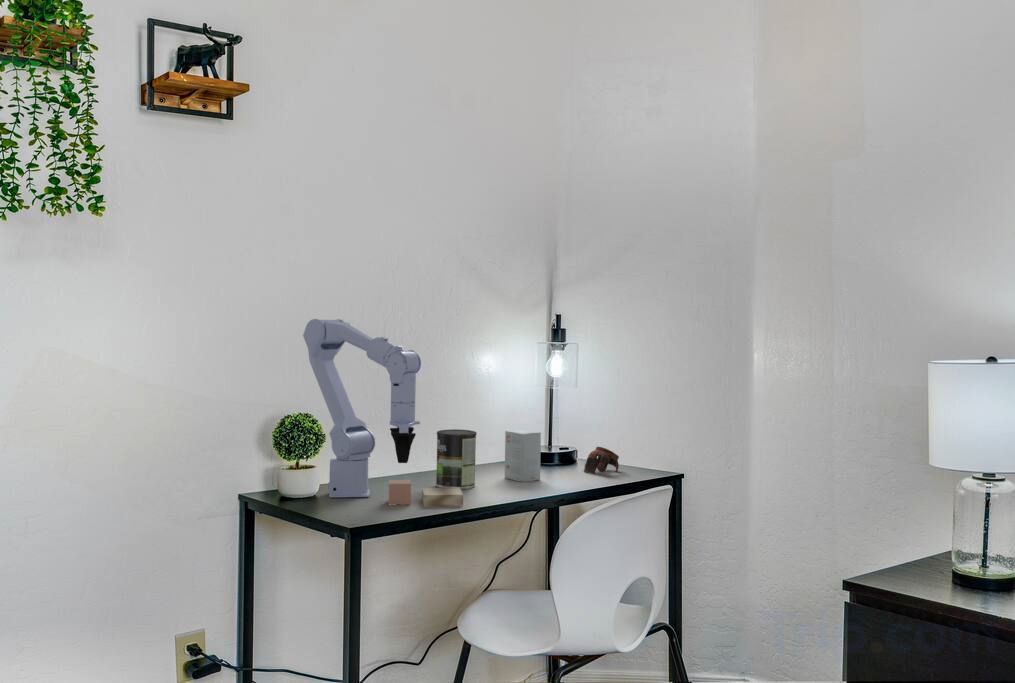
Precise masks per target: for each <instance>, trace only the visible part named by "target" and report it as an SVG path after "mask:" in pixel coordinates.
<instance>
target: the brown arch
mask: <svg viewBox="0 0 1015 683" xmlns="http://www.w3.org/2000/svg"><path fill="white" fill-rule="evenodd" d="M619 458H620V457H619V454H618V455H617V454H616V453H615V452H614V451H612V450H610V449H608V448H605V447H602V446H596V448H595V449H593V450H592V451H591V452H590V453H589V454H588V456H587V457H586V462H585V464H584V470H583V472H588V473H591V474H593V473H594V474H593V475H595V474H596V471H598V472H600V473H603V472H604V473H605V472H606V470H607V468H608V465H611V466H613V467H614V468H615V472H616V471H617V472H618V470H619V467H620V466H619Z"/></svg>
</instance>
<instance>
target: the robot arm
mask: <svg viewBox="0 0 1015 683" xmlns="http://www.w3.org/2000/svg"><path fill="white" fill-rule="evenodd" d="M302 336H303V339H304V340H303V341H304V342H305V344H306V346H307V349H308V350H307V351H308V358H309V364H310V366H311V369H312V371H313V374H314V376H315V379H316V381H317V384H318V387H319V389H320V391H321V394H322V396H323V400H324V402H325V404H326V407H327V409H328V411H329V414H330V417H331V419H332V422H333V423H334V424H333V426H332V428H331V429H330V431H329V433H328V434H329V437H330V440H331V450H332V453H333V454H334V456H336V458H330V460H329V481H328V491H329V493H328V495H329V496H328V497H329V498H369V497H370V496H371V495H370V494H371V493H370V492H371V490H370V489H369V458H371V453H372V452H374V450H375V447H376V438H375V436H374V434H373V432H372V431H371V430H370V429H369V428H368V426H367V423H366V422H365V421H364V420H362V419H361V418H358V417H357V416H356V414H355V410H354V409H353V406H352V404H351V401H350V398H349V397H348V393H347V391H346V388H345V387H344V383H343V380H342V379H341V375H340V373H339V371H338V368H337V366H336V364H335V361H334V359H335V357H336V356H337V355H338V354H339V352H340V350H342V347H343V346H344V345H345V343H348V344H350V345H352V346H354V347H357V349H358V348H359V349H361V351H362V350H363V351H365V352H366V356H367V358H368V359H369V360H371V361H373V362H375V363H377V364H378V365H380V366H382V367H384V368H385V369H386V371H387V373H388V374H389V381H390V420H389V425H390V426H394V427H390V428H389V430H390V435H391V437H392V439H393V443H394V448H395V454H396V459H397V463H398V464H408V462H409V458H410V453H411V449H412V448H411V447H412V444H413V442H414V439H415V438H416V435H417V433H415V432H413V431H414V430H415V429H414V426H416V425H420V424H421V421H420V420H416V391H417V390H416V382H417V378H416V377H417V373H418V372H419V371H420V369H421V367H422V360H421V357H420V356H419V354H418V353H417V352H415V351H414V350H413V349H410V350H408V349H407V350H405V349H403V346H402V345H396V344H394V343H392V342H390V341H389V338H388V337H386V336H380V337H377V336H376V337H374V338H372V337H371V336H369V335H367V334H366V333H364V332H363V331H361V330H359V329H357V328H356V327H354V326H353V325H351V323H349V322H346V321H344V319H343V320H342V319H317V318H313V319H310V320H309V321H308V322H307V324H306V326H305V329H304V332H303V335H302Z"/></svg>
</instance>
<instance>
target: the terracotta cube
mask: <svg viewBox="0 0 1015 683" xmlns="http://www.w3.org/2000/svg"><path fill="white" fill-rule="evenodd" d="M411 492H412V482H411V479H389V480H388V505H389V504H391V505H390V506H393V505H392V504H411V503H412V493H411Z"/></svg>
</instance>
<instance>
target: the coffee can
mask: <svg viewBox="0 0 1015 683" xmlns="http://www.w3.org/2000/svg"><path fill="white" fill-rule="evenodd" d="M436 435H437V436H436V475H435V476H436V479H435V480H436V481H435V487H436V488H451V487H460V489H461V490H469V489H473V488H475V487H476V449H477V448H476V447H477V446H476V445H477V444H476V443H477V431H474V430H468V429H457V428H455V429H454V428H453V429H441V430H440V429H439V430H438V431H436Z"/></svg>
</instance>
